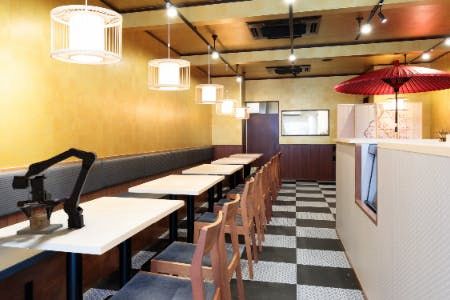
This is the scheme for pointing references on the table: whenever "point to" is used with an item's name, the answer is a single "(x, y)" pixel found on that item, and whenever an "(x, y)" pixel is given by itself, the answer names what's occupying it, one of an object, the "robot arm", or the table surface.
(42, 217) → the shipping carton
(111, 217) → the table surface
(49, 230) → the gray rectangular slab
